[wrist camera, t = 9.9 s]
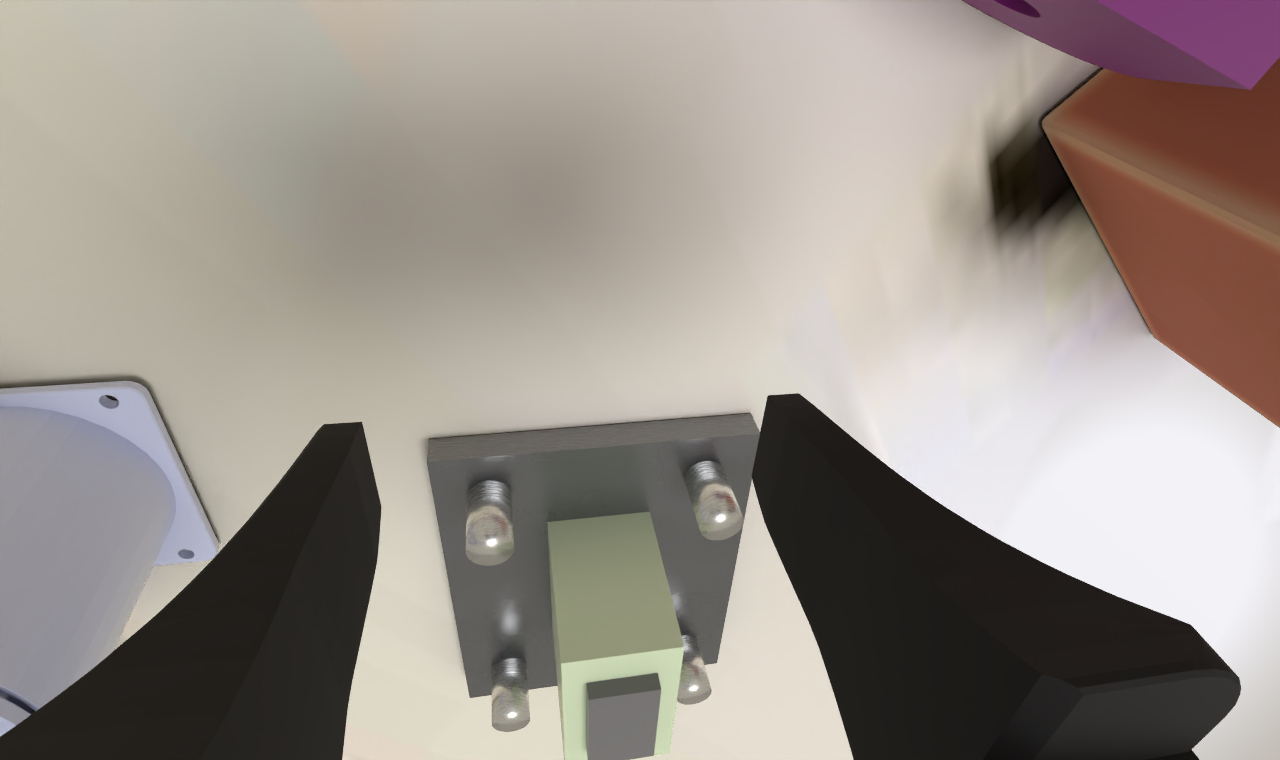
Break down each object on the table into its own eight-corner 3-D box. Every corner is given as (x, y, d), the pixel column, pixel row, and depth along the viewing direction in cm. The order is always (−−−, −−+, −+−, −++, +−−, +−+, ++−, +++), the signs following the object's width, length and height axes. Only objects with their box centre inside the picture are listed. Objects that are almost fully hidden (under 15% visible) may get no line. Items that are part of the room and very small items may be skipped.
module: (552, 631, 31) (566, 786, 26) (547, 522, 27) (562, 681, 22) (641, 619, 32) (672, 769, 27) (649, 511, 28) (688, 663, 23)
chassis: (470, 674, 34) (469, 751, 31) (429, 439, 25) (422, 515, 22) (710, 641, 36) (730, 711, 33) (750, 413, 27) (782, 480, 24)
